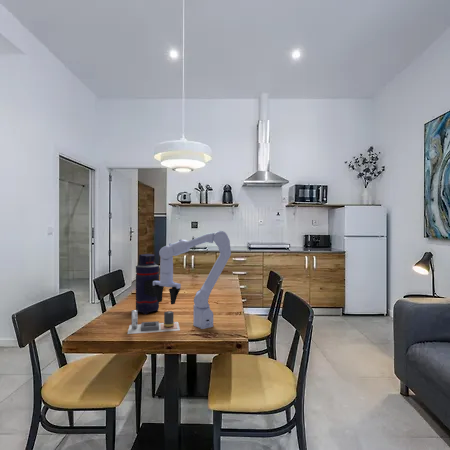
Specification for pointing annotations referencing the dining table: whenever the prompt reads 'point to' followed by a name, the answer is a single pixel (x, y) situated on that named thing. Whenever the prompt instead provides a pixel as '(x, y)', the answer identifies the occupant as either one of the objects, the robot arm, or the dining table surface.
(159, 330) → the dock board
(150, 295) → the red-striped navy canister
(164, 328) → the pad
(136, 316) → the retention clip
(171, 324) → the plug
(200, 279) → the dining table surface
